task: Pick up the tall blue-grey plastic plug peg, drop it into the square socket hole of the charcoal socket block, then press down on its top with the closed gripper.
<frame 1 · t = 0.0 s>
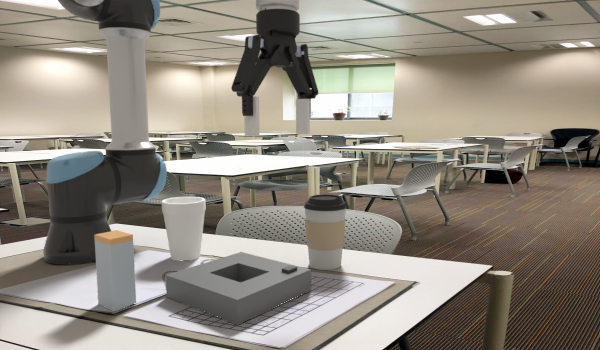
hand: (279, 135, 83), 28 cm above the table, fingers open, 13 cm apart
plug peg: (117, 304, 79), on the table
socket block: (239, 293, 83), on the table
foam cup: (185, 257, 106), on the table
coffee cup: (325, 265, 100), on the table
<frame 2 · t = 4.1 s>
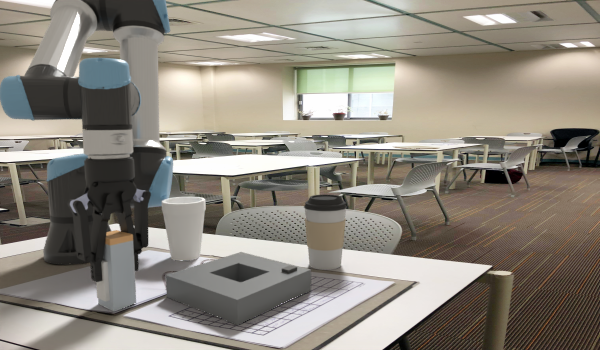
hand: (116, 294, 79), 2 cm above the table, fingers closed on plug peg, 4 cm apart
plug peg: (117, 303, 79), on the table, touching gripper
everything else where it was.
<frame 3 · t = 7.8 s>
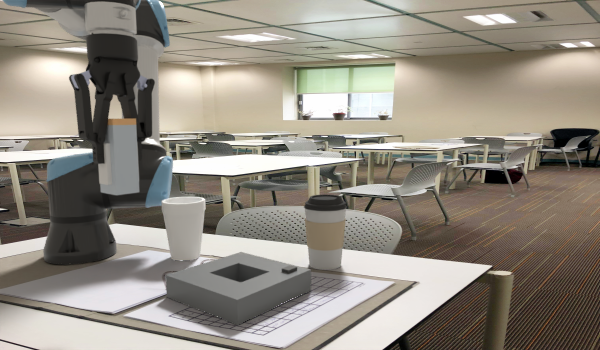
hand: (119, 182, 77), 21 cm above the table, fingers closed on plug peg, 4 cm apart
plug peg: (120, 192, 77), point 19 cm above the table, touching gripper
everything else where it was.
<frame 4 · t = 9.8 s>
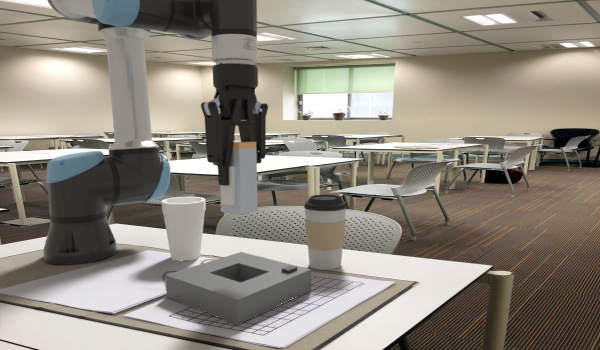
hand: (238, 201, 81), 17 cm above the table, fingers closed on plug peg, 4 cm apart
plug peg: (239, 211, 81), point 15 cm above the table, touching gripper
everything else where it was.
when the fingers open (7 cm above the table, at t = 11.5 s): plug peg drops 4 cm, resting on socket block.
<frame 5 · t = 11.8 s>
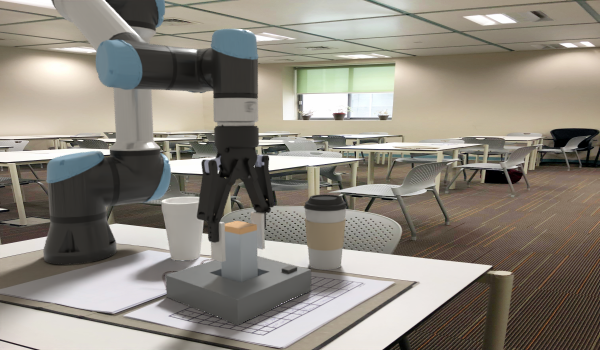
hand: (239, 253, 82), 7 cm above the table, fingers open, 9 cm apart
plug peg: (239, 290, 83), point 1 cm above the table, touching socket block
everything else where it was.
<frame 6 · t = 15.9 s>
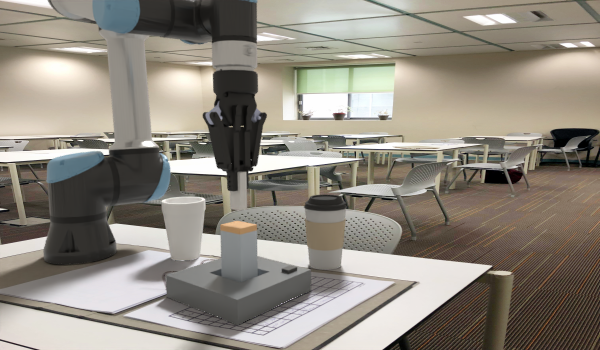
hand: (238, 208, 81), 15 cm above the table, fingers closed
nothing on the table moved.
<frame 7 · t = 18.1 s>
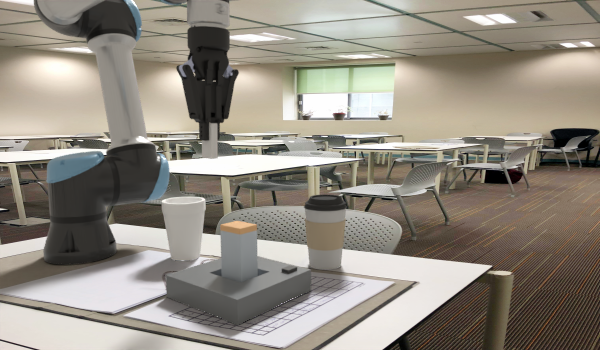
hand: (209, 157, 88), 24 cm above the table, fingers closed
nothing on the table moved.
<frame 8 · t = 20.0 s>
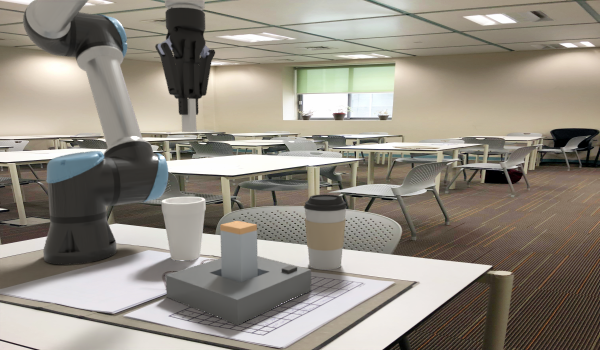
hand: (189, 131, 94), 28 cm above the table, fingers closed
nothing on the table moved.
at the end: plug peg 0.0 cm off-centre on the socket block, point 0.6 cm above the socket block's base; plug peg tilted 0°; the gripper is holding nothing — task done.
